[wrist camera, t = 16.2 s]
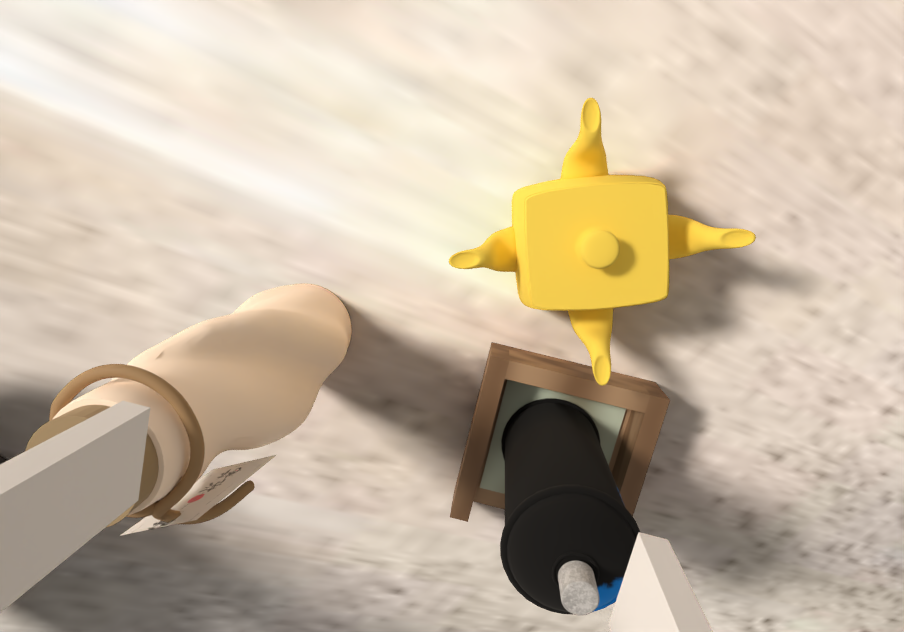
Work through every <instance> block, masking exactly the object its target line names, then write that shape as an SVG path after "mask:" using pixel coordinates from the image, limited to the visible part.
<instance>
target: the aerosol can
mask: <svg viewBox="0 0 904 632" xmlns="http://www.w3.org/2000/svg"><path fill="white" fill-rule="evenodd" d="M501 443H502V453H503V458H504V460H505V527H504V529H503V532H502V537H501V542H500V550H501V559H502V563H503V568H504V570H505V572H506V574H507V576H508V578H509V580H510V582H511V583H512V584H513V586H514V587H515V588H516V590H517V591H518V592H519V593H520V594H522V595H523V596H524V597H525V598H526V599H527V600H529V601H530V602H532V603H534V604H535V605H537V606H539V607H541V608H544V609H546V610H549V611H552V612H557V613H562V614H574V615H587V614H589V613H591V612H594V611H597V610H600V609H603V608H605V607H607V606H609V605H611V604H613V603H614V602H616V600H617V596H618V593H619V590H620V587H621V584H622V581H623V578H624V575H625V572H626V569H627V566H628V563H629V560H630V557H631V554H632V551H633V548H634V545H635V541H636V538H637V535H638V532H640V530H639V528H638V526H637V523H636V521H635V520H634V518H633V517H632V515H631V514H630V513H629V511H628V510H627V509H626V508H625V505H624V503H623V500H622V498H621V495H620V493H619V490H618V488H617V485H616V483H615V480H614V478H613V475H612V473H611V470H610V468H609V465H608V463H607V460H606V458H605V455H604V453H603V450H602V448H601V445H600V436H599V432H598V429H597V427H596V425H595V423H594V421H593V420H592V418H591V417H590V416H589V415H588V414H587V413H586V412H585V411H584V410H583V409H582V408H580V407H579V406H577V405H575V404H574V403H571V402H568V401H566V400H562V399H556V398H545V399H539V400H535V401H533V402H530V403H528V404H526V405H524V406H523V407H521V408H520V409H518V410H517V411H516V412H515V413H514V414H513V415H512V416H511V418H510V419H509V421H508V422H507V424H506V426H505V428H504V431H503V435H502V440H501Z"/></svg>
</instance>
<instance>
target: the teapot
mask: <svg viewBox="0 0 904 632" xmlns="http://www.w3.org/2000/svg"><path fill="white" fill-rule="evenodd" d="M755 238H756V237H755V234H754V233H752V232H751V231H748V230H744V229H723V228H715V227H710V226H707V225H704V224H702V223H700V222H697V221H695V220H693V219H690V218H687V217H683V216H678V215H668V201H667V191H666V187H665V185H664V184H663V183H662V182H660V181H659V180H657V179H655V178H651V177H645V176H634V175H609V174H608V169H607V161H606V154H605V150H604V147H603V143H602V138H601V113H600V109H599V105H598V103H597V102H596V100H595V99H594V98H588V99H587V100H586V101H585V103H584V105H583V108H582V113H581V125H580V133H579V136H578V138H577V140H576V142H575V143H574V144H573V145H572V147H571V148H570V149H569V151H568V152H567V154H566V156H565V158H564V162H563V167H562V173H561V179H557V180H552V181H547V182H542V183H538V184H534V185H530V186H526V187H523V188H521V189H518V190H517V191H516V192H514V194H513V198H512V227H509V228H506V229H503V230H500V231H497V232H495V233H493V234H492V235H491V236H490V237H489V238H488V239H487V240H486V241H485V242H484V243H483V244H482V245H481V246H480V247H478V248H475V249H470V250H465V251H461V252H458V253H456V254H454V255H452V256H451V257H450V259H449V263H450V265H451V266H453V267H455V268H459V269H472V268H480V267H485V268H489V269H492V270H495V271H503V272H515V273H516V281H517V289H518V294H519V298H520V300H521V302H522V303H523V304H524V305H526V306H528V307H530V308H534V309H540V310H562V311H567V310H568V313H569V317H570V321H571V324H572V327H573V329H574V331H575V333H576V334H577V336H578V337H579V338H580V339H581V341H582V342H583V343H584V345H585V346H586V348H587V349H588V351H589V354H590V357H591V363H592V369H593V374H594V377H595V379H596V381H597V383H598V384H599V385H602V386H603V385H606V384H607V383H608V381H609V378H610V374H611V359H610V339H611V332H612V323H613V308H618V307H627V306H635V305H641V304H648V303H653V302H657V301H661V300H663V299H665V298H667V296H668V292H669V259H676V258H682V257H686V256H690V255H694V254H697V253H700V252H703V251H707V250H714V249H731V248H740V247H744V246H747V245H750V244H751V243H753V242H754V241H755Z"/></svg>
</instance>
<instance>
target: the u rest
mask: <svg viewBox="0 0 904 632" xmlns="http://www.w3.org/2000/svg"><path fill="white" fill-rule="evenodd" d="M545 398H556V399H562V400H566V401H568V402H571V403H574V404H575V405H577V406H579V407H580V408H582V409H583V410H584V411H585V412H586V413H587V414H588V415H589V416H590V417H591V418H592V420H593V421H594V423H595V425H596V427H597V429H598V432H599V436H600V445H601V448H602V450H603V453H604V455H605V458H606V460H607V463H608V465H609V468H610V470H611V473H612V475H613V478H614V480H615V483H616V485H617V488H618V490H619V493H620V495H621V498H622V500H623V503H624V505H625V508H626V509H627V510H628V511H629V513H630V514H631V515H632V516H633V513H634V510H635V507H636V504H637V501H638V498H639V495H640V492H641V489H642V486H643V482H644V479H645V476H646V473H647V470H648V467H649V464H650V461H651V458H652V455H653V451H654V448H655V445H656V442H657V439H658V436H659V433H660V430H661V427H662V424H663V420H664V417H665V414H666V411H667V408H668V405H669V402H670V399H669V398H668V397H667V396H666V394H665V393H664V392H663V391H662V390H661V389H660V387H659V386H658V385H657V384H656V383H655V382H652V381H648V380H644V379H640V378H636V377H632V376H628V375H623V374H619V373H615V372H611V374H610V378H609V381H608V383H607V384H606V385H603V386H602V385H599V384H598V383H597V381H596V379H595V377H594V374H593V369H592V367H591V366H587V365H583V364H578V363H574V362H570V361H566V360H562V359H558V358H554V357H550V356H546V355H542V354H537V353H533V352H529V351H525V350H521V349H517V348H513V347H509V346H505V345H501V344H497V343H491V347H490V351H489V355H488V359H487V363H486V367H485V371H484V375H483V379H482V383H481V387H480V391H479V395H478V399H477V403H476V407H475V411H474V415H473V419H472V423H471V427H470V431H469V435H468V439H467V442H466V446H465V450H464V454H463V458H462V462H461V466H460V470H459V474H458V478H457V482H456V486H455V490H454V496H453V502H452V508H451V513H450V517H452V518H455V519H459V520H463V521H467V522H468V519H469V515H470V511H471V507H472V503H473V501H474V502H478V503H482V504H486V505H490V506H494V507H498V508H501V509H505V460H504V458H503V453H502V443H501V440H502V435H503V431H504V428H505V426H506V424H507V422H508V421H509V419H510V418H511V416H512V415H513V414H514V413H515V412H516V411H517V410H518V409H520V408H521V407H523V406H524V405H526V404H528V403H530V402H533V401H535V400H539V399H545Z"/></svg>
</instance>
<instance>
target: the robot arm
mask: <svg viewBox="0 0 904 632" xmlns="http://www.w3.org/2000/svg"><path fill="white" fill-rule="evenodd" d="M149 414H150V407H146V406H142V405H138V404H134V403H130V402H126V401H121V402H119V403H117V404H115V405H114V406H112V407H110V408H108V409H106V410H104V411H102V412H100V413H98V414H96V415H94V416H92V417H91V418H89V419H87V420H85V421H83V422H81V423H79V424H77V425H75V426H73V427H71V428H69V429H67V430H66V431H64V432H62V433H60V434H58V435H56V436H54V437H52V438H50V439H48V440H46V441H44V442H42V443H41V444H39V445H37V446H35V447H33V448H31V449H29V450H27V451H25V452H23V453H21V454H19V455H17V456H16V457H14V458H12V459H10V460H8V461H6V460H5V459H3V458H2V457H0V613H1V612H2V611H3V610H5V609H6V608H7V607H8V606H9V605H11V604H12V603H13V602H14V601H16V600H17V599H18V598H19V597H21V596H22V595H23V594H24V593H25V592H27V591H28V590H29V589H30V588H32V587H33V586H34V585H35V584H36V583H38V582H39V581H40V580H41V579H43V578H44V577H45V576H46V575H48V574H49V573H50V572H51V571H52V570H54V569H55V568H56V567H57V566H59V565H60V564H61V563H62V562H63V561H65V560H66V559H67V558H68V557H70V556H71V555H72V554H73V553H74V552H76V551H77V550H78V549H79V548H81V547H82V546H83V545H84V544H86V543H87V542H88V541H89V540H90V539H92V538H93V537H94V536H95V535H97V534H98V533H99V532H100V531H101V530H103V529H104V528H105V527H106V526H108V525H109V524H110V523H111V522H112V521H114V520H115V519H116V518H117V517H119V516H120V515H121V514H122V513H124V512H125V511H126V510H127V509H128V508H130V507H131V506H132V505H133V504H135V503H136V502H137V501H138V499H139V491H140V483H141V476H142V468H143V460H144V453H145V445H146V437H147V430H148V422H149ZM609 627H610V631H611V632H713V631H712V629H711V626H710V624H709V622H708V620H707V618H706V616H705V614H704V612H703V610H702V608H701V606H700V604H699V602H698V600H697V598H696V596H695V594H694V592H693V590H692V588H691V585H690V583H689V581H688V579H687V577H686V575H685V573H684V571H683V569H682V567H681V565H680V563H679V561H678V559H677V557H676V555H675V553H674V551H673V549H672V547H671V544H670V542H669V540H668V539H664V538H660V537H656V536H652V535H648V534H644V533H640V532H638V535H637V538H636V541H635V545H634V548H633V551H632V554H631V557H630V560H629V563H628V566H627V569H626V572H625V575H624V578H623V581H622V584H621V587H620V590H619V593H618V596H617V600H616V603H615V606H614V609H613V612H612V615H611V618H610V621H609Z"/></svg>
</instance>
